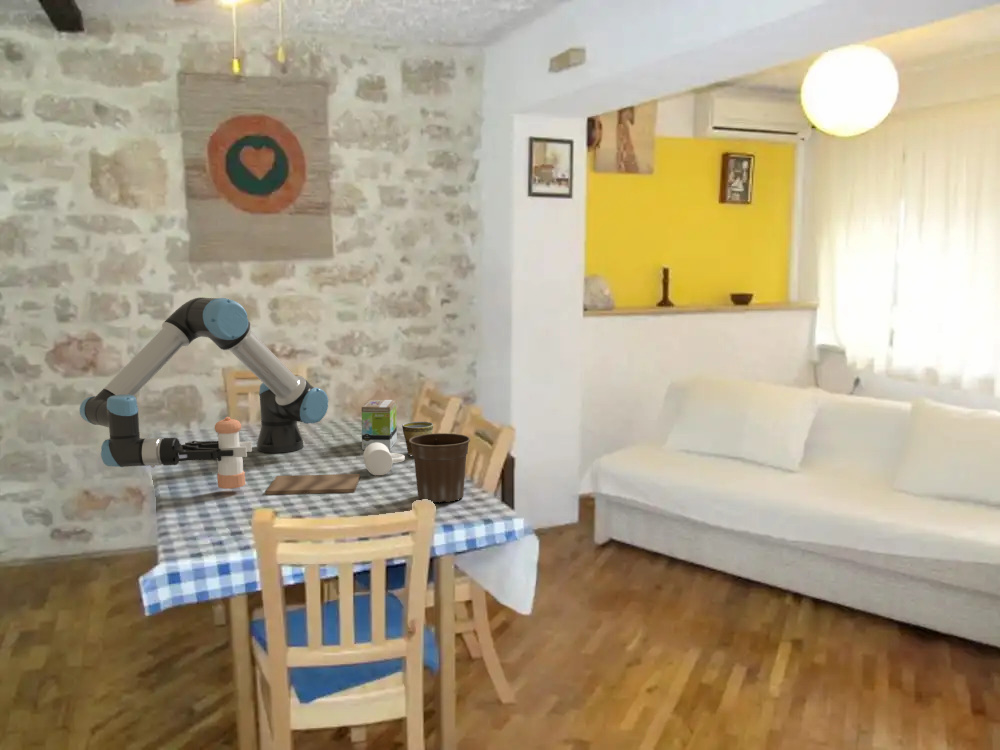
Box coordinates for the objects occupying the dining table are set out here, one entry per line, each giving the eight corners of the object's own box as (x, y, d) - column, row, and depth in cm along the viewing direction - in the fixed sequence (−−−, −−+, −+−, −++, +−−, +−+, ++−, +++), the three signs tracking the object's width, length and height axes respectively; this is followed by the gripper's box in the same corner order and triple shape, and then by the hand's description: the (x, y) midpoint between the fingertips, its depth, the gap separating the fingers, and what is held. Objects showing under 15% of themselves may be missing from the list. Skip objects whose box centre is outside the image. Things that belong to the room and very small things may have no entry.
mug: (366, 476, 259) (365, 450, 258) (363, 468, 269) (362, 443, 268) (406, 474, 262) (406, 447, 261) (403, 466, 272) (402, 440, 271)
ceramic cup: (433, 458, 281) (433, 427, 280) (402, 458, 281) (401, 428, 279) (434, 448, 294) (433, 419, 293) (403, 449, 293) (403, 420, 292)
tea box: (391, 450, 293) (390, 406, 290) (361, 450, 293) (359, 406, 291) (397, 440, 307) (396, 398, 305) (368, 440, 308) (367, 398, 306)
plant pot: (428, 486, 248) (426, 430, 245) (480, 492, 242) (480, 434, 239) (399, 502, 233) (398, 442, 231) (455, 509, 227) (454, 447, 224)
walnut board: (266, 494, 242) (265, 490, 241) (277, 479, 257) (276, 475, 257) (354, 492, 243) (354, 488, 243) (360, 477, 259) (359, 473, 259)
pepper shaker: (249, 481, 247) (245, 414, 244) (239, 489, 240) (235, 419, 237) (224, 481, 248) (220, 414, 245) (213, 488, 240) (208, 419, 238)
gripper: (173, 456, 251) (256, 454, 252) (152, 473, 233) (242, 471, 234) (171, 430, 250) (255, 428, 251) (150, 446, 231) (240, 443, 233)
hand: (248, 449), depth 242 cm, fingers closed on pepper shaker, 5 cm apart
